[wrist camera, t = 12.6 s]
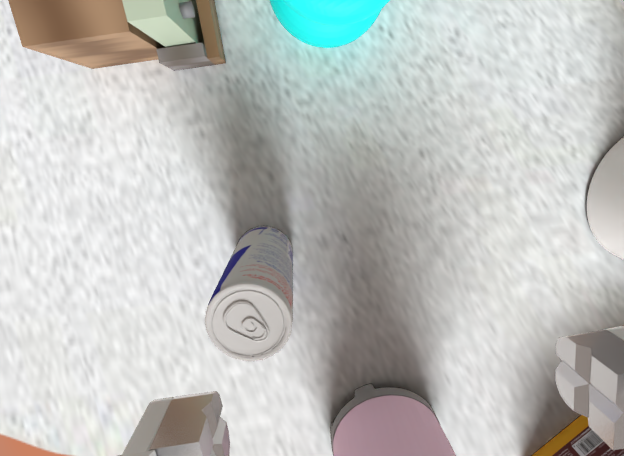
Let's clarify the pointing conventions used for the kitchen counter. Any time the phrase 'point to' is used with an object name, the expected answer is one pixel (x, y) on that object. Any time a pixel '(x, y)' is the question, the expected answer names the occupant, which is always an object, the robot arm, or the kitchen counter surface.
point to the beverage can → (254, 297)
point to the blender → (388, 425)
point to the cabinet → (108, 34)
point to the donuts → (327, 19)
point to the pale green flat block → (166, 20)
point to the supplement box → (577, 442)
